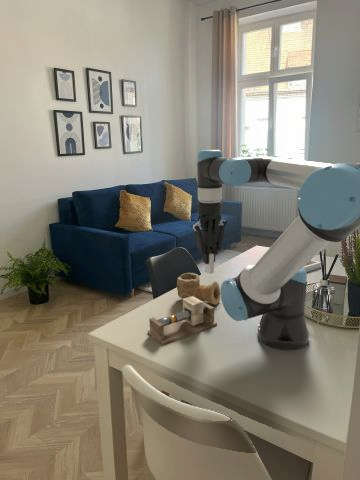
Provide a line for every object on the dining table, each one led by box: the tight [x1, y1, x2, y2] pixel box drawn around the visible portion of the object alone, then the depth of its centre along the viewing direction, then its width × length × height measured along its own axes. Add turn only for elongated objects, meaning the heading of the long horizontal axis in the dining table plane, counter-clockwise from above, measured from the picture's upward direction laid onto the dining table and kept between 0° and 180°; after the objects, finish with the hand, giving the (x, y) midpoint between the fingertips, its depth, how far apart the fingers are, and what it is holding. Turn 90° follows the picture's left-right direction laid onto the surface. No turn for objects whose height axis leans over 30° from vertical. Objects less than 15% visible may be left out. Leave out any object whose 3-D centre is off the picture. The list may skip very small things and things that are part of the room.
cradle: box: [147, 301, 218, 346], centre depth 117 cm, size 21×9×6 cm, turn 124°
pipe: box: [176, 272, 221, 305], centre depth 136 cm, size 9×16×10 cm, turn 71°
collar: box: [182, 296, 204, 326], centre depth 118 cm, size 4×6×7 cm
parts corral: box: [303, 259, 322, 273], centre depth 173 cm, size 16×16×2 cm
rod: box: [157, 305, 207, 326], centre depth 116 cm, size 18×3×3 cm, turn 124°
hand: (209, 272), depth 119 cm, fingers closed
